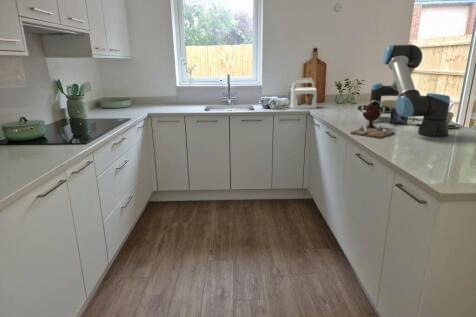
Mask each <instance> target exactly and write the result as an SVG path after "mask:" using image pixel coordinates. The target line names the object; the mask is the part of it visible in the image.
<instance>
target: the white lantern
mask: <svg viewBox="0 0 476 317" xmlns="http://www.w3.org/2000/svg"><path fill="white" fill-rule="evenodd" d="M313 79H314V78H313V77H295V79H294V80H293V81H292V82H291V88H290V102H289V105H290V107H289V108H291V109H292V108H293V109H292V110H304V109H305V110H308V109H309V110H311V109H310V108H314V109H316V108H317V97H318V96H317V93H318V90H317V89H318V88H317V86H316V81H315V80H313ZM297 84H311V86H297V87H296V85H297ZM299 94H300V95H301V94H303V95H309V97H308V103H305V102H299V103H298V98H297V96H298V95H299Z"/></svg>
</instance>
